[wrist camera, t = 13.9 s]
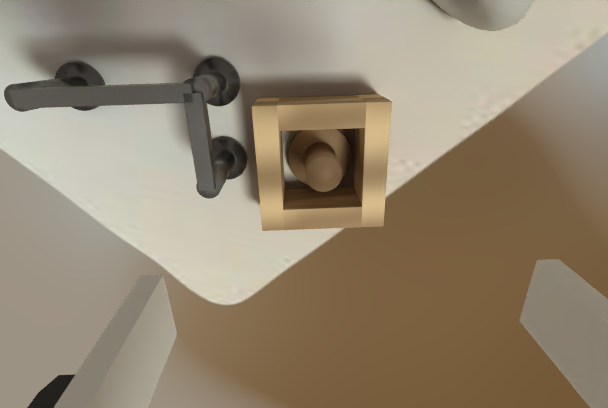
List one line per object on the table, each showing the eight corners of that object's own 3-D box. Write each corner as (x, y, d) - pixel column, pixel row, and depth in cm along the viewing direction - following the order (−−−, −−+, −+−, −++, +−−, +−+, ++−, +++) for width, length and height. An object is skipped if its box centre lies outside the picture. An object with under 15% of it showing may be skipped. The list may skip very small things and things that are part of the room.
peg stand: (286, 124, 33) (285, 139, 28) (350, 122, 33) (361, 137, 28) (289, 184, 36) (288, 209, 30) (349, 182, 36) (359, 206, 30)
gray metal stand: (53, 63, 31) (-31, 68, 23) (237, 57, 31) (218, 60, 23) (88, 182, 35) (28, 221, 27) (249, 176, 35) (236, 213, 27)
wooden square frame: (257, 98, 32) (251, 106, 28) (378, 94, 32) (391, 101, 28) (266, 207, 37) (262, 230, 32) (372, 204, 37) (383, 226, 32)
